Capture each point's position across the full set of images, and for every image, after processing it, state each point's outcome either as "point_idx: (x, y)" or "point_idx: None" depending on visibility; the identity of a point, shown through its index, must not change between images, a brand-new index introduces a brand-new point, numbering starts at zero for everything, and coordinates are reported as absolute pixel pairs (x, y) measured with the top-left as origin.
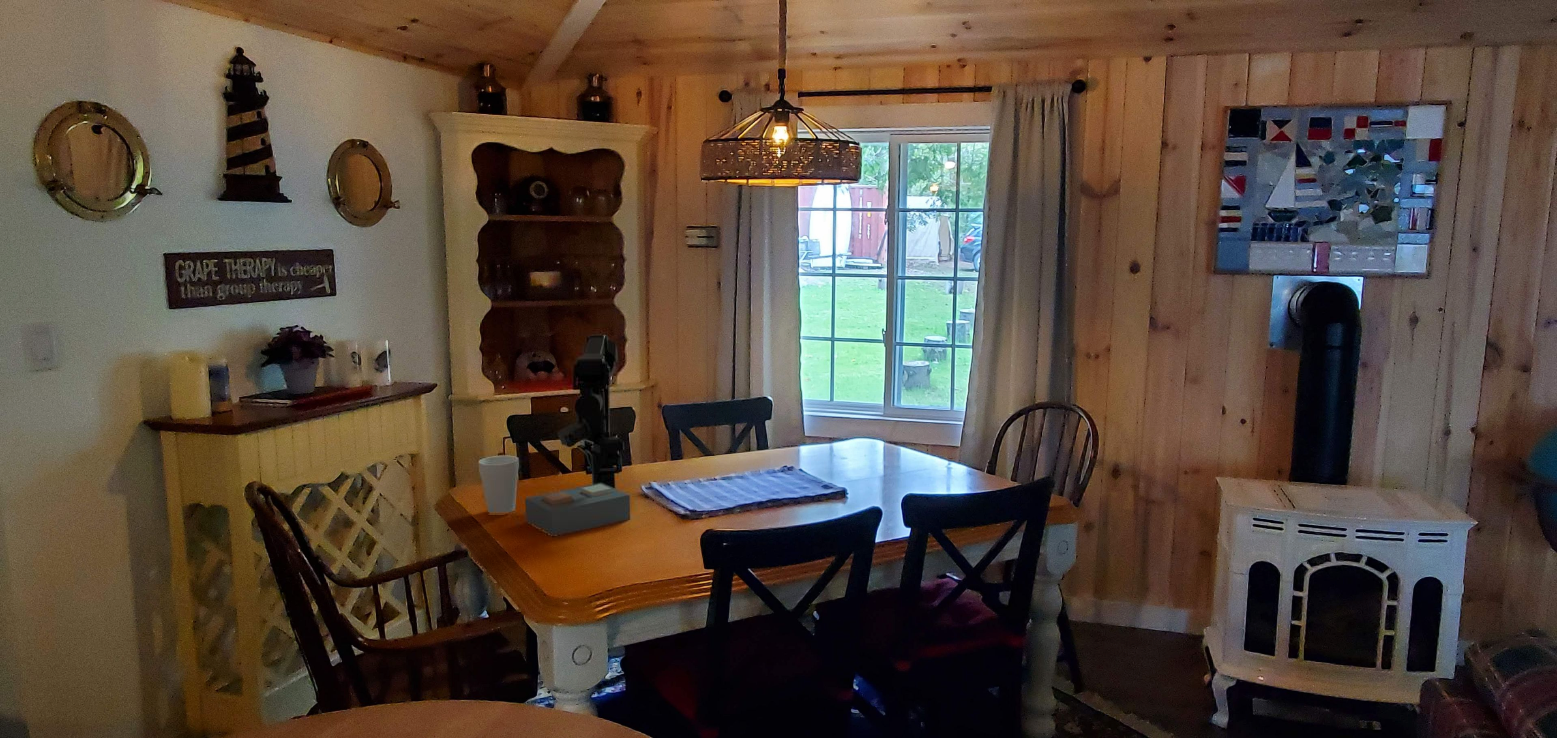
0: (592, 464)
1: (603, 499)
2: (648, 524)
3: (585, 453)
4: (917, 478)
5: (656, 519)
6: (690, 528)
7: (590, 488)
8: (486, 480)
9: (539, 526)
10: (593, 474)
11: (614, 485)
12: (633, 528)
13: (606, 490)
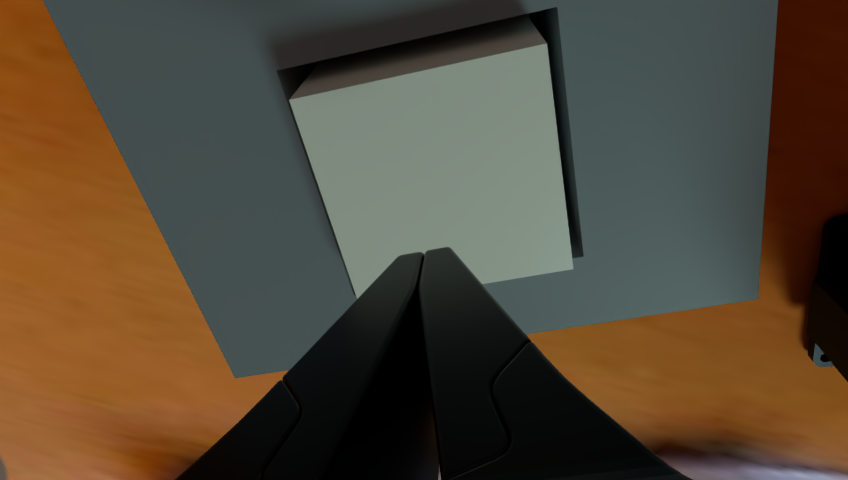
0: (336, 352)
1: (155, 162)
2: (150, 316)
3: (616, 476)
4: None
5: (230, 372)
6: (32, 444)
7: (463, 132)
8: None
9: None
10: (413, 253)
11: (845, 376)
12: (93, 227)
13: (346, 258)
